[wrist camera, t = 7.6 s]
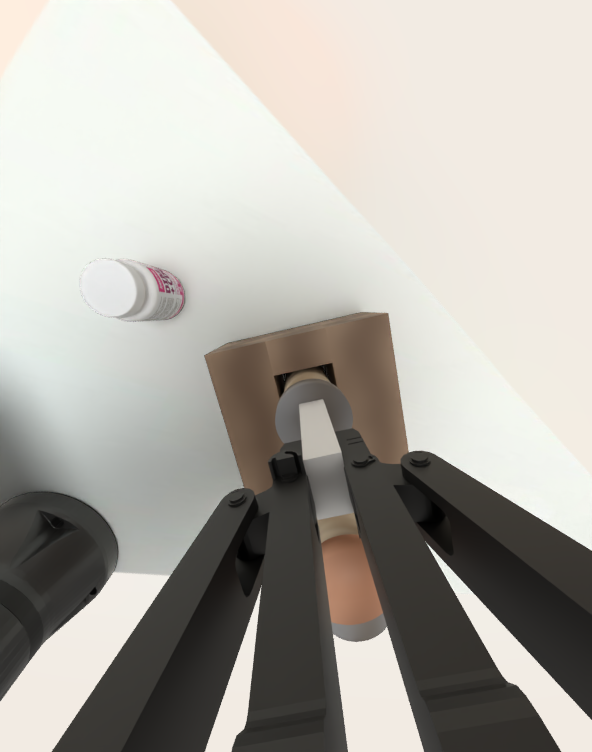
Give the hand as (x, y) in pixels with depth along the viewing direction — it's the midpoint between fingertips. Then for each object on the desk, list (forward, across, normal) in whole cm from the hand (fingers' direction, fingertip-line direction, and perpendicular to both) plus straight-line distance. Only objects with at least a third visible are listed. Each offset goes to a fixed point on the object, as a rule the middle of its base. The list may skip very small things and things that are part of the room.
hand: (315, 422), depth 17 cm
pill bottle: (+13, -12, +11) cm, 21 cm away
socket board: (+13, 0, -8) cm, 15 cm away
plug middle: (+8, 0, -8) cm, 11 cm away
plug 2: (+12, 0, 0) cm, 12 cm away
